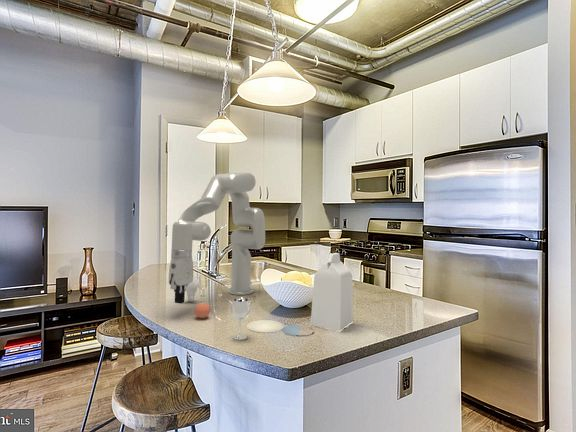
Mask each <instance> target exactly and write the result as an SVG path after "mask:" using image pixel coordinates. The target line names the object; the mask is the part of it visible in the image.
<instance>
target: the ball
mask: <svg viewBox="0 0 576 432" xmlns="http://www.w3.org/2000/svg"><path fill="white" fill-rule="evenodd" d="M194 314H195V316H196V317H197V318H198V319H206V318H207V317H208V316H209V315H210V314H211V307H210V305H208V304H207V303H205V302H201V303H198V304H197V305H196V306H195V308H194Z"/></svg>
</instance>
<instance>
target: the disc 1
mask: <svg viewBox="0 0 576 432" xmlns="http://www.w3.org/2000/svg"><path fill="white" fill-rule="evenodd" d="M284 327H285V326H284V324H283V323H281V322H279V321H276V320H270V319H262V320H261V319H260V320H259V319H258V320H254V321H250V322H248V323H247V325H246V328H247V329H248V330H250V331H252V332H256V333H264V334H267V333H268V334H269V333H276V332H279V331H282V329H283V328H284Z"/></svg>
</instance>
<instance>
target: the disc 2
mask: <svg viewBox="0 0 576 432" xmlns="http://www.w3.org/2000/svg"><path fill="white" fill-rule="evenodd" d="M297 325H298V324H290V325H286V326H284V328H283V329H282V330H281V331H282V333H284V334H285V333H286V334H285V335H288V334H289V336H292V335H294V337H297V336H296V335H297V333H298V334H299V332H298V330H301V327H302V326H301V327H300V326H297Z"/></svg>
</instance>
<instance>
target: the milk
mask: <svg viewBox="0 0 576 432" xmlns="http://www.w3.org/2000/svg"><path fill="white" fill-rule="evenodd" d="M352 274H353V273H352V272H351V270H350V269H349V268H348V267H347V266H346V265H345V264H344V263H343V262H342V261H341V255H340V252H339V253H338V252H335V253H330V254H329V255H328V259H327V261H326V262H324V264H323V265H322V266H321V267H320V268H319V269H318V270H317V271H316V272H315V274H314V277H313V288H312V299H311V300H312V301H311V314H310V316H311V317H310V325H315V326H319V327H325V328H331V329H335V330H341V329H343V328H344V327H345V326H347V325H348V324H349V323H351V322H352V321H353V322H354V309H353V308H354V306H353V305H354V304H353V302H354V300H353V296H354V295H353V275H352Z"/></svg>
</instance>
